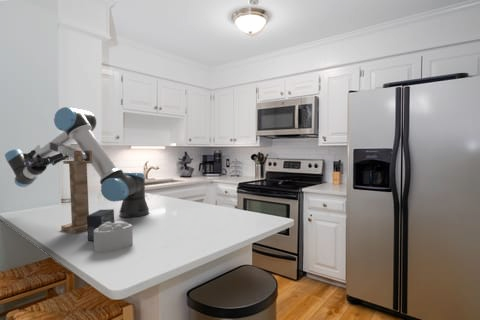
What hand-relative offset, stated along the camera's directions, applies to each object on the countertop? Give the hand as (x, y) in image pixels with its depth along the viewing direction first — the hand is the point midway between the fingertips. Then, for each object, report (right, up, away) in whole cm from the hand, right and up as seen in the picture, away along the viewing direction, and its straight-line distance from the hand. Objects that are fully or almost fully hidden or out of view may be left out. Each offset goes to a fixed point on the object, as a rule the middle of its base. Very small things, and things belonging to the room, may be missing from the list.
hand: (55, 147), depth 133 cm
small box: (+31, -38, -18) cm, 52 cm away
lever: (+9, -3, -4) cm, 10 cm away
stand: (+15, -37, -6) cm, 41 cm away
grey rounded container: (+41, -39, -28) cm, 63 cm away
